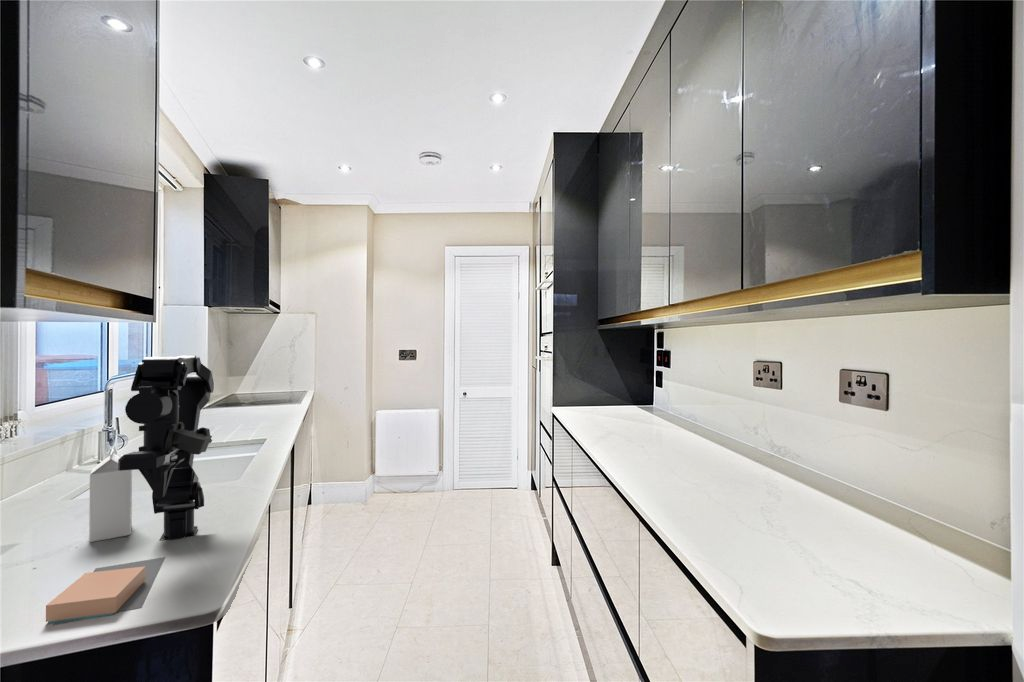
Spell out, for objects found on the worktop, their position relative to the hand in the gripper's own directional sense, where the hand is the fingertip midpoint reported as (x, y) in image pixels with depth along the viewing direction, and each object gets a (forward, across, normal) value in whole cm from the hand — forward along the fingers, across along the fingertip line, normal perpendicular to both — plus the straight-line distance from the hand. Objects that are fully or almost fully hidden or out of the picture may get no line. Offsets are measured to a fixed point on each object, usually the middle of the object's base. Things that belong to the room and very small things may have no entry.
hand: (160, 497), depth 97 cm
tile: (+11, -10, +3) cm, 15 cm away
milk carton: (+12, +19, +18) cm, 29 cm away
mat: (+14, -10, +2) cm, 17 cm away
